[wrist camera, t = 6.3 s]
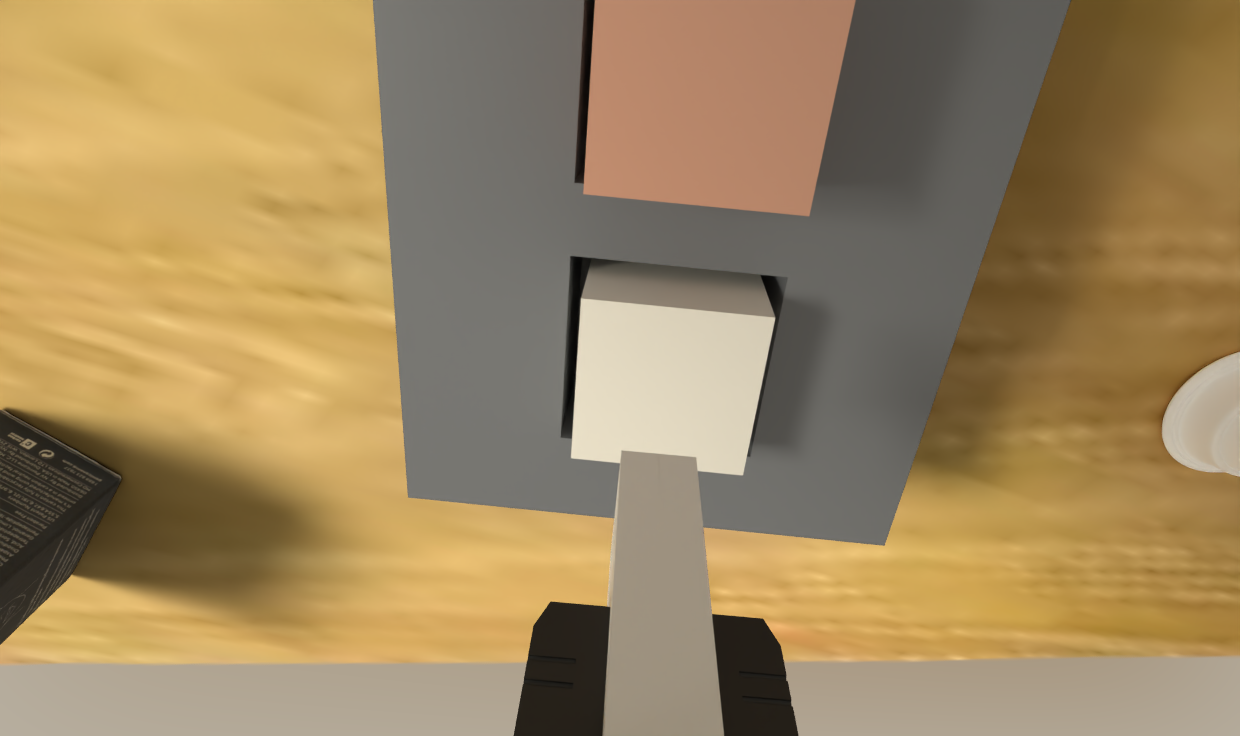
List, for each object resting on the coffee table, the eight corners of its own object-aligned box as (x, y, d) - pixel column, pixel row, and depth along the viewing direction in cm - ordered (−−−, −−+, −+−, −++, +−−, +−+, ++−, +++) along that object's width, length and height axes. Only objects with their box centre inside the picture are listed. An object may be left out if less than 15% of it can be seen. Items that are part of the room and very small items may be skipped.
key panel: (448, 418, 28) (408, 497, 24) (408, -702, 15) (302, -995, 10) (849, 458, 28) (884, 545, 24) (1164, -633, 15) (1378, -901, 10)
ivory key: (584, 390, 24) (570, 458, 20) (594, 249, 22) (580, 298, 18) (730, 404, 24) (743, 475, 20) (756, 265, 22) (775, 317, 18)
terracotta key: (597, 157, 19) (583, 194, 16) (612, -57, 17) (599, -72, 13) (782, 175, 19) (808, 216, 16) (822, -37, 17) (865, -46, 13)
